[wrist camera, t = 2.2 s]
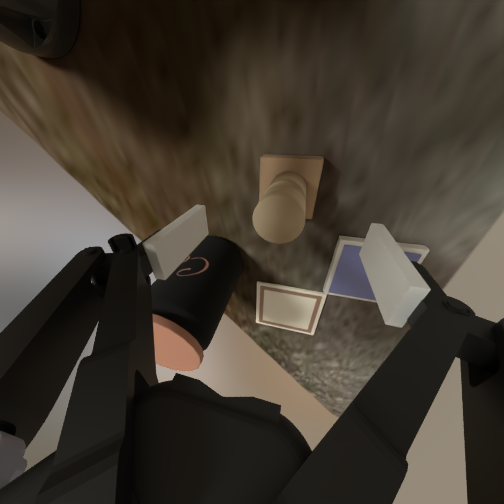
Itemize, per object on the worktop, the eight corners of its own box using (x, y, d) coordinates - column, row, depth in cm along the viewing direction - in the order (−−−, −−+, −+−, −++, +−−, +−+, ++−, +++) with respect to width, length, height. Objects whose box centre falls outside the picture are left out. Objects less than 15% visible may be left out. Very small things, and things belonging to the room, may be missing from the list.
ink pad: (322, 288, 34) (323, 294, 33) (339, 235, 28) (340, 240, 27) (390, 299, 32) (393, 306, 31) (425, 245, 26) (431, 251, 24)
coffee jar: (229, 225, 31) (163, 314, 17) (253, 274, 36) (217, 374, 22) (181, 239, 36) (96, 319, 21) (208, 281, 41) (154, 369, 26)
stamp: (263, 205, 28) (239, 250, 19) (265, 153, 24) (236, 175, 15) (311, 210, 27) (312, 260, 17) (322, 155, 23) (332, 181, 13)
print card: (256, 321, 44) (255, 323, 44) (257, 280, 37) (256, 282, 37) (313, 333, 42) (313, 335, 41) (326, 293, 34) (327, 295, 34)
